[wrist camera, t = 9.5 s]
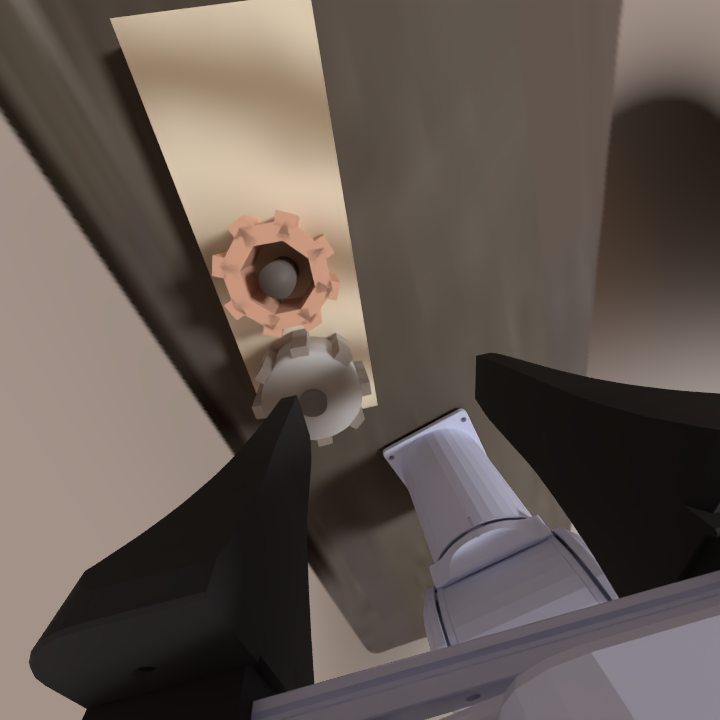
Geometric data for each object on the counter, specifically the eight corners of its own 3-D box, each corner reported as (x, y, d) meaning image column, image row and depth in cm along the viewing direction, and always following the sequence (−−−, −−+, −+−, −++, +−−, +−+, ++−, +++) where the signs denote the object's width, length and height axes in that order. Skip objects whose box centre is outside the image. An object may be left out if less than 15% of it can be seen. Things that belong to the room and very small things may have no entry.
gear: (322, 205, 15) (324, 200, 12) (343, 309, 17) (348, 323, 15) (214, 224, 14) (191, 224, 12) (251, 327, 17) (239, 346, 14)
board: (373, 394, 22) (388, 436, 18) (273, 416, 22) (262, 465, 17) (310, 17, 13) (307, -96, 8) (132, 41, 12) (29, -65, 8)
